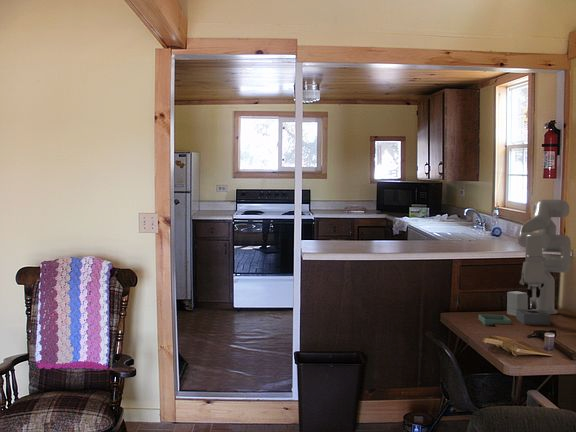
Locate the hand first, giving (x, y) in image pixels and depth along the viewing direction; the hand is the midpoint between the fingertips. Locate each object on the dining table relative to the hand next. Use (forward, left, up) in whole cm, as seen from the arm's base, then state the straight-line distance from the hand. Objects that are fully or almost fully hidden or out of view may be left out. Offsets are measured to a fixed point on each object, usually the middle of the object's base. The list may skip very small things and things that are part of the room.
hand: (533, 296), depth 269 cm
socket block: (0, 0, -13) cm, 13 cm away
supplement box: (-18, -2, -14) cm, 22 cm away
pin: (0, 0, -6) cm, 6 cm away
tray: (0, -18, -13) cm, 23 cm away
